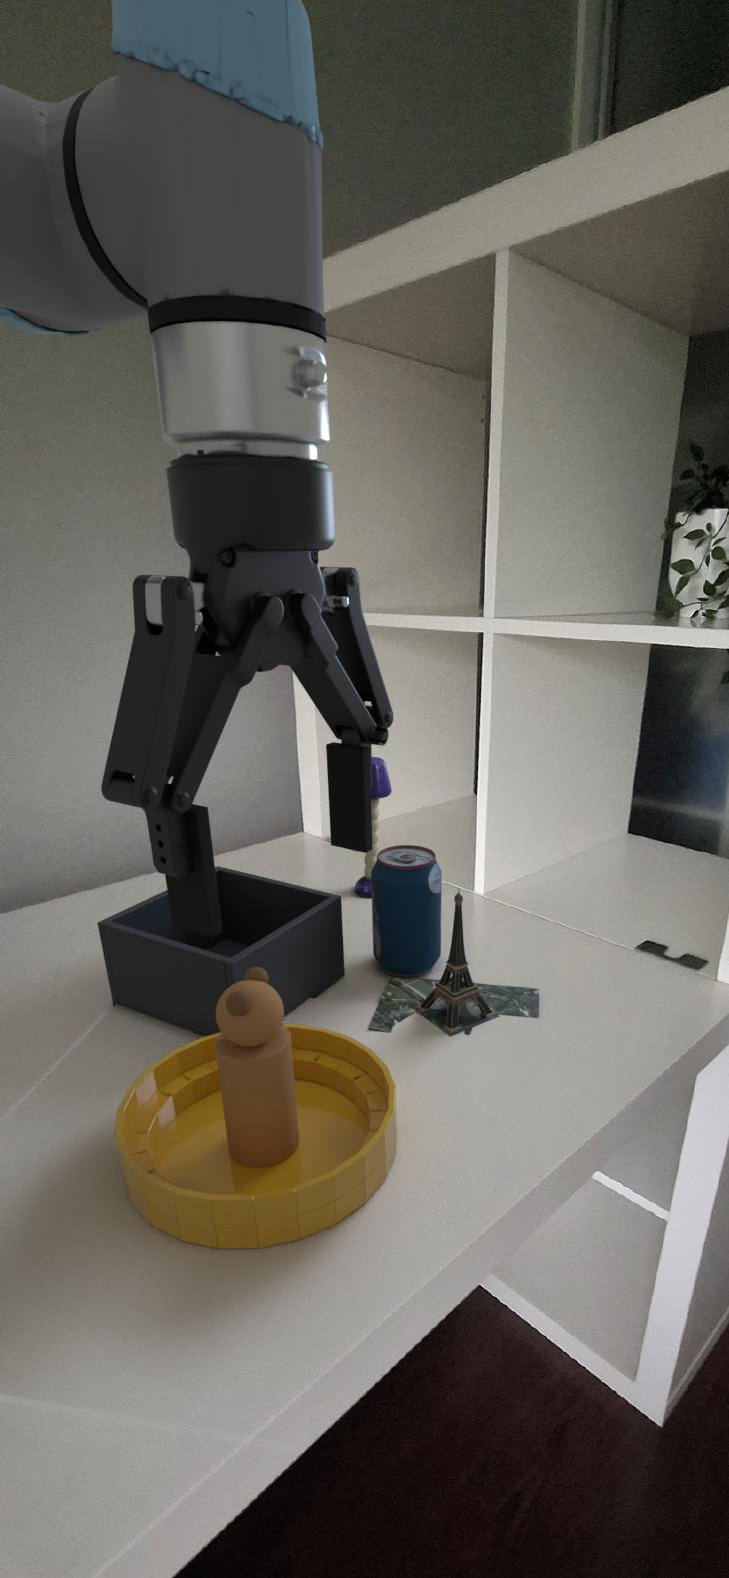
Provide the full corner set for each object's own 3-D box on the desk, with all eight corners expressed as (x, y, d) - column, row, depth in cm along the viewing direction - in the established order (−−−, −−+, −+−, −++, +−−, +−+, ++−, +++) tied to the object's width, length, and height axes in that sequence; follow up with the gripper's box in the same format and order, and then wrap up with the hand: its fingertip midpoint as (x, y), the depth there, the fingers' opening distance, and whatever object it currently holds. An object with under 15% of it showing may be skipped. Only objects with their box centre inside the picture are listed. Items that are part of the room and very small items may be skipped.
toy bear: (217, 1163, 56) (193, 996, 50) (243, 1117, 60) (224, 959, 54) (286, 1171, 55) (271, 1003, 49) (307, 1124, 60) (295, 964, 54)
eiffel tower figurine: (541, 993, 78) (552, 865, 72) (537, 1053, 69) (548, 912, 63) (390, 980, 80) (388, 854, 74) (366, 1036, 71) (362, 898, 65)
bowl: (65, 1185, 55) (51, 1133, 53) (249, 1045, 70) (244, 1001, 68) (288, 1303, 46) (282, 1246, 44) (442, 1115, 61) (443, 1067, 59)
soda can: (454, 961, 83) (456, 853, 78) (411, 987, 79) (410, 874, 73) (403, 942, 87) (402, 837, 82) (359, 965, 82) (355, 856, 77)
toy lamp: (395, 885, 101) (394, 754, 94) (389, 900, 97) (386, 765, 90) (358, 883, 102) (354, 753, 95) (350, 897, 98) (345, 763, 91)
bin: (113, 1006, 75) (96, 922, 71) (226, 940, 87) (217, 865, 84) (241, 1054, 68) (231, 963, 65) (345, 975, 81) (341, 895, 77)
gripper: (74, 420, 25) (165, 998, 35) (451, 470, 45) (445, 832, 54) (-66, 432, 29) (52, 956, 38) (342, 474, 48) (354, 813, 57)
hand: (283, 884), depth 46 cm, fingers open, 13 cm apart
